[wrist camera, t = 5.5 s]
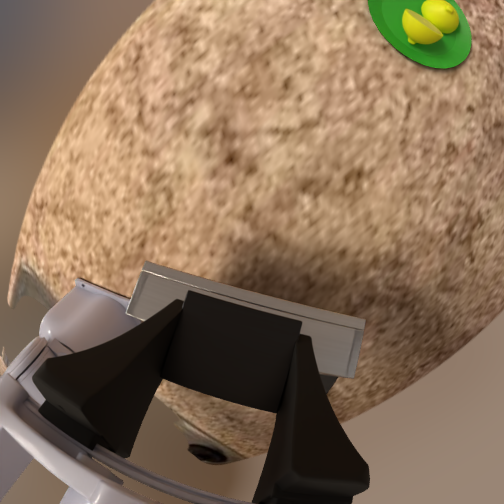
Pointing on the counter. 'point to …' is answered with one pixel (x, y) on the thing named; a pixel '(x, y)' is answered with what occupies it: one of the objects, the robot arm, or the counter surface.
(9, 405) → the robot arm
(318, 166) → the counter surface
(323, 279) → the counter surface
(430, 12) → the green plate with lemons
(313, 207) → the counter surface
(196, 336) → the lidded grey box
